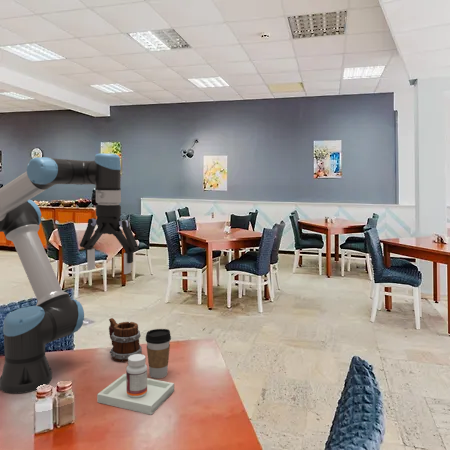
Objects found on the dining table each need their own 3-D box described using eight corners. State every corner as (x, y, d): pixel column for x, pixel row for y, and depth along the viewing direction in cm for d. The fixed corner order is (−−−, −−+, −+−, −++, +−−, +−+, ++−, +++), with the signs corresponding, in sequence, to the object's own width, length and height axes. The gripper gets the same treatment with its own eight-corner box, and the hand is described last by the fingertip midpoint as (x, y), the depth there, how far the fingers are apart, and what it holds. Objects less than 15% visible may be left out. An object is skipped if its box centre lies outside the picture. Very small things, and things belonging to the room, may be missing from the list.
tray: (97, 402, 118) (97, 394, 118) (124, 380, 131) (124, 373, 131) (151, 414, 112) (151, 406, 112) (174, 390, 125) (174, 383, 125)
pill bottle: (128, 388, 124) (127, 353, 123) (148, 387, 125) (147, 352, 124) (125, 398, 118) (124, 361, 117) (146, 398, 119) (146, 361, 118)
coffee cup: (166, 381, 131) (165, 337, 129) (141, 378, 133) (141, 334, 131) (174, 370, 139) (174, 328, 138) (151, 367, 141) (151, 326, 139)
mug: (126, 365, 141) (120, 323, 141) (100, 362, 150) (95, 322, 150) (150, 354, 151) (145, 315, 151) (125, 351, 159) (120, 314, 159)
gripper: (67, 203, 125) (68, 270, 128) (136, 206, 117) (136, 277, 119) (83, 202, 132) (84, 265, 135) (149, 205, 124) (149, 272, 126)
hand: (109, 271), depth 127 cm, fingers open, 13 cm apart
